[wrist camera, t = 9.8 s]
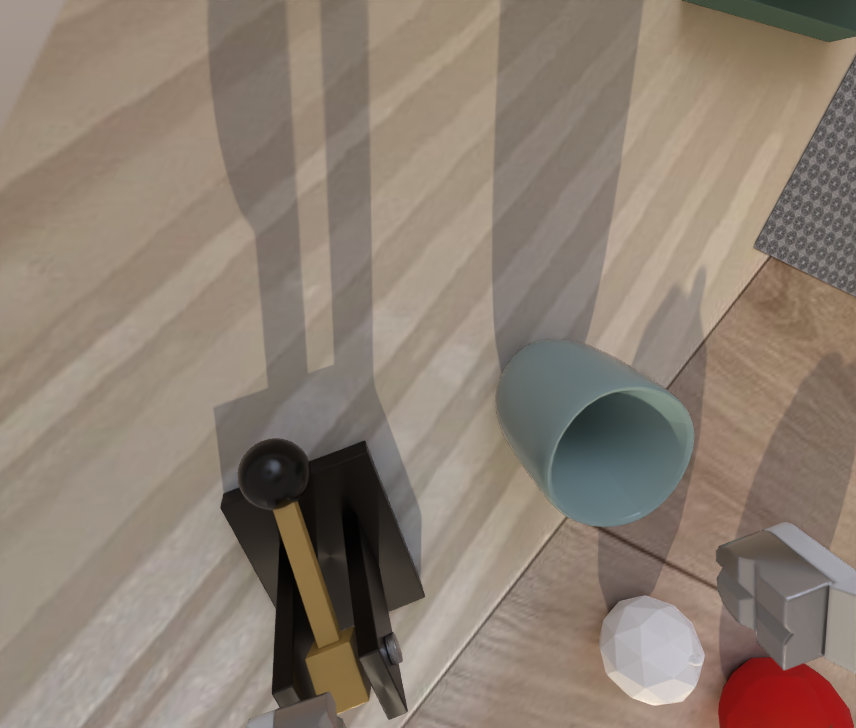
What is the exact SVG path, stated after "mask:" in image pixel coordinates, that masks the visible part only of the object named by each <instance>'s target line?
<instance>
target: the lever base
mask: <svg viewBox="0 0 856 728" xmlns="http://www.w3.org/2000/svg"><path fill="white" fill-rule="evenodd" d="M309 462H310V466H311V479H310V483H309V486H308V488H307V490H306V492H305V493H304V495H303V496H302V497H301V498H300V499H299V500H298V504H299V507H300V510H301V513H302V516H303V519H304V522H305V525H306V528H307V531H308V534H309V537H310V540H311V543H312V546H313V549H314V552H315V555H316V558H317V561H318V564H319V567H320V570H321V573H322V576H323V579H324V582H325V585H326V588H327V591H328V594H329V597H330V600H331V603H332V606H333V609H334V612H335V615H336V618H337V621H338V624H339V627H340V630H341V631H343V630H345V629H348V628H350V627H353V626H354V627H355V636H356V644H357V652H358V659H359V661H360V663H361V665H362V667H363V669H364V671H365V673H366V675H367V677H368V679H369V681H370V683H371V685H372V687H373V689H374V691H375V693H376V695H377V697H378V699H379V702H380V704H381V706H382V708H383V710H384V712H385V714H386V716H387V718H388V719H389V720H390V719H392V718H395V717H397V716H400V715H402V714H404V713H407V712H408V709H407V704H406V699H405V694H404V689H403V684H402V679H401V674H400V669H399V664H398V663H401V662H402V661H403V658H402V653H401V649H400V646H399V643H398V640H397V637H396V635H395V633H394V632H392V628H391V623H390V618H389V613H388V612H390V611H392V610H395V609H397V608H399V607H402V606H404V605H407V604H409V603H412V602H414V601H417V600H419V599H422V598H424V597H425V594H424V591H423V588H422V584H421V581H420V578H419V576H418V573H417V571H416V568H415V566H414V563H413V561H412V558H411V556H410V553H409V551H408V548H407V546H406V543H405V541H404V538H403V535H402V533H401V530H400V528H399V525H398V523H397V520H396V518H395V515H394V513H393V510H392V508H391V505H390V503H389V500H388V498H387V495H386V493H385V490H384V487H383V485H382V482H381V480H380V477H379V475H378V472H377V470H376V467H375V465H374V462H373V460H372V457H371V455H370V452H369V450H368V447H367V445H366V442H365V441H363V442H360V443H358V444H355V445H352V446H350V447H347V448H344V449H342V450H339V451H336V452H333V453H331V454H328V455H325V456H323V457H320V458H317V459H315V460H312V461H309ZM220 508H221V510H222V512H223V513H224V515H225V517H226V519H227V521H228V523H229V524H230V526H231V528H232V530H233V532H234V533H235V535H236V537H237V539H238V541H239V543H240V544H241V546H242V548H243V550H244V552H245V554H246V555H247V557H248V559H249V561H250V563H251V564H252V566H253V568H254V570H255V572H256V574H257V575H258V577H259V579H260V581H261V583H262V584H263V586H264V588H265V590H266V592H267V594H268V595H269V597H270V599H271V601H272V603H273V605H274V606H275V608H276V619H275V639H274V659H273V678H272V695H273V697H274V698H275V700H276V702H277V703H278V705H279V707H280V708H281V707H284V706H287V705H290V704H293V703H296V702H299V701H302V700H305V699H308V698H311V697H314V696H316V692H315V689H314V686H313V683H312V680H311V677H310V674H309V671H308V668H307V665H306V661H305V659H306V657H307V655H308V653H309V651H310V649H311V646H312V644H313V643H314V642H316V640H315V637H314V634H313V631H312V628H311V625H310V622H309V619H308V616H307V613H306V610H305V607H304V604H303V601H302V598H301V595H300V592H299V588H298V585H297V582H296V579H295V576H294V573H293V570H292V567H291V564H290V561H289V558H288V555H287V552H286V549H285V546H284V543H283V540H282V537H281V533H280V530H279V527H278V524H277V521H276V518H275V515H274V512H273V511H270V510H264V509H261V508H258V507H256V506H254V505H252V504H251V503H250V502H249V501H248V500H247V499H246V498H245V497H244V496H243V494H242V492H241V490H240V488H237V489H235V490H232V491H229V492H227V493H224V494H223V498H222V503H221V507H220Z"/></svg>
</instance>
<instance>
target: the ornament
mask: <svg viewBox="0 0 856 728" xmlns="http://www.w3.org/2000/svg"><path fill="white" fill-rule="evenodd" d="M599 646H600V650H601V654H602V658H603V662H604V666H605V670H606V674H607V675H608V676H609V677H610V678H611V679H612V680H613V681H614V682H615V683H616V684H617V685H618V686H619V687H620V688H621V689H622V690H623V691H624V692H625V693H626V694H628V695H629V696H630V697H631V698H633V699H636V700H639V701H642V702H645V703H648V704H651V705H654V706H655V705H662V704H669V703H676V702H683V701H684V700H685V698H686V697H687V696H688V695H689V694H690V693H691V692H692V690H693V689H694V688H695V687H696V685H697V682H698V679H699V675H700V672H701V668H702V665H703V662H704V657H705V654H704V652H703V649H702V646H701V644H700V641H699V639H698V636H697V634H696V631H695V629H694V626H693V624H692V623H691V622H690V621H689V620H688V619H687V618H686V617H685V616H684V615H683V614H682V613H681V612H680V611H679V610H678V609H677V608H676V607H675V606H674V605H671V604H669V603H666V602H663V601H660V600H657V599H655V598H652V597H649V596H646V595H644V596H640V597H635V598H630V599H626V600H621V601H619V602H618V603H617V604H616V605H615V607H614V608H613V609H612V610H611V611H610V612H609V614H608V615H607V616H606V617H605V618H604V619H603V623H602V629H601V634H600V639H599Z"/></svg>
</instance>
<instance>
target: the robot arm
mask: <svg viewBox="0 0 856 728" xmlns="http://www.w3.org/2000/svg"><path fill="white" fill-rule="evenodd" d="M716 562H717V563H718V564H719V565H720V566H721V567H722V570H721V571H720V573H719V575H718V576H717V587H718V592H719V595H720V597H721V599H722V602H723V604H724V606H725V607H726V608H727V610H728V611H729V613H730V614H731V615H732V616H733V617H734V619H735V620H736V621H737V622H738V623H739V624H740V625H743V626H745V627H748V628H750V629H753V630H755V632H756V639H757V643H758V644H759V645H760V646H761V647H762V648H763V649H764V650H765V651H766V652H767V653H768V654H769V656H770V657H771V658H772V659H773V660H774V661H775V662H776V663H777V664H778V665H779V666H780V667H781V668H782V669H783V670H787V669H790V668H792V667H795V666H798V665H800V664H803V663H806V662H809V661H811V660H814V659H817V658H820V657H822V656H825V657H824V658H825V659H827V660H829V661H831V662H833V663H835V664H837V665H839V666H841V667H843V668H845V669H847V670H849V671H851V672H853V673H855V674H856V570H855V569H853V568H852V567H851V566H849V565H848V564H847V563H845V562H844V561H842V560H841V559H840V558H838V557H837V556H836V555H834V554H833V553H831V552H830V551H829V550H827V549H826V548H825V547H823V546H822V545H821V544H819V543H818V542H816V541H815V540H814V539H812V538H811V537H810V536H808V535H807V534H806V533H804V532H803V531H801V530H800V529H799V528H797V527H796V526H795V525H793V524H791V523H788V522H783V523H780V524H777V525H774V526H772V527H769V528H766V529H764V530H762V531H757V532H754V533H752V534H749V535H747V536H744V537H742V538H739V539H736V540H734V541H731V542H729V543H726V544H723V545H721V546H719V547H718V549H717V551H716ZM246 728H346V726H345V723H344V721H343V719H342V718H340V717H337V713H336V703H335V701H334V699H333V697H332V694H331V692H325V693H322V694H319V695H316V696H314V697H311V698H308V699H305V700H302V701H299V702H296V703H293V704H290V705H287V706H284V707H281V708H278V709H276V710H273V711H270V712H267V713H264V714H262V715H259V716H256V717H253V718H250V719H249V721H248V724H247V726H246Z"/></svg>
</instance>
